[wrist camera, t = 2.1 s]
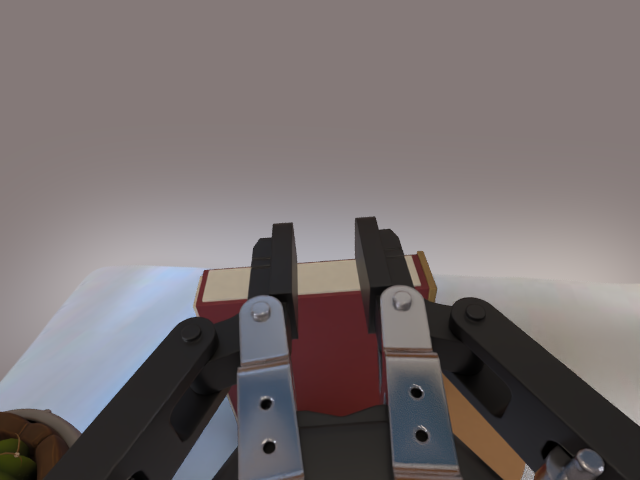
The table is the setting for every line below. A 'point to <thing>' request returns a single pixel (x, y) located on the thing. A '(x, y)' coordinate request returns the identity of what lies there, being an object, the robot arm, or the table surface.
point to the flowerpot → (32, 443)
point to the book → (347, 348)
